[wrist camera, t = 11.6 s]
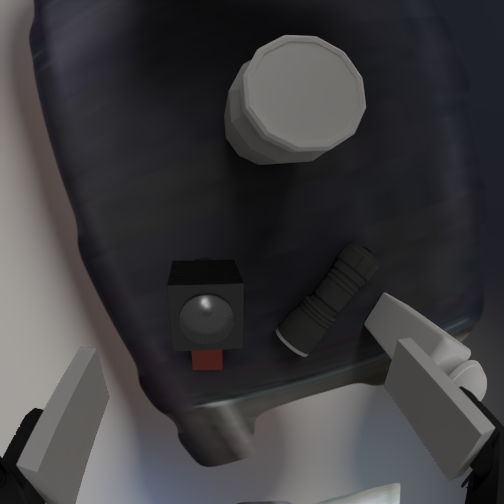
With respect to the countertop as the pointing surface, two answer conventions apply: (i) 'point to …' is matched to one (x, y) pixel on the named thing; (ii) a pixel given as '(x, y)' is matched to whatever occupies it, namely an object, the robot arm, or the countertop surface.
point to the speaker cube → (206, 305)
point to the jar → (293, 101)
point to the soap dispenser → (425, 342)
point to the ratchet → (207, 355)
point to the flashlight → (327, 299)
